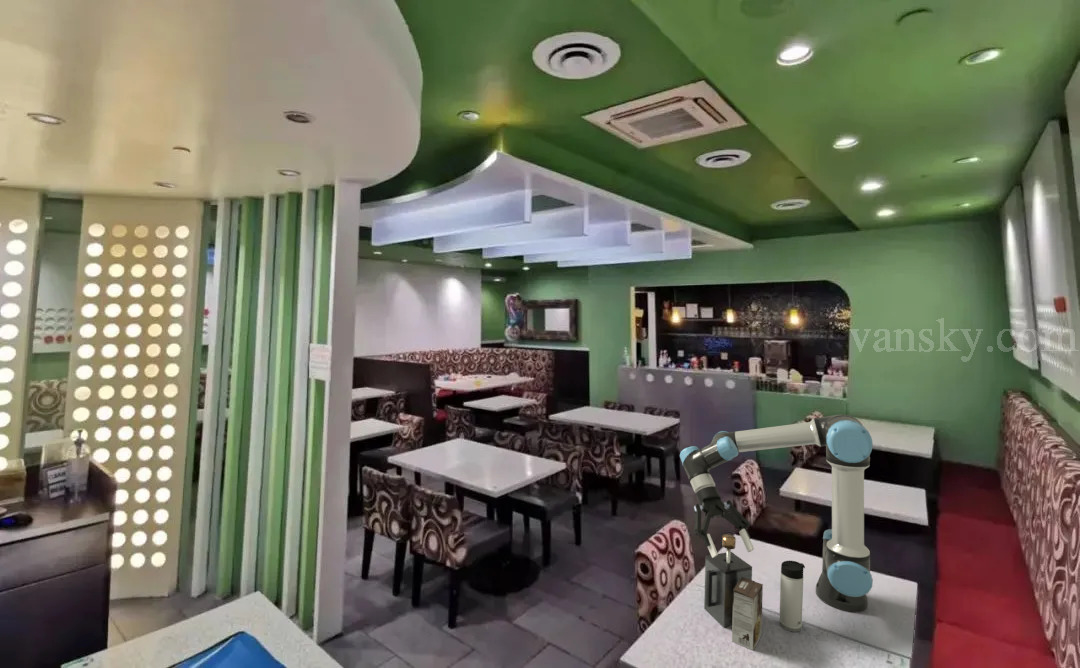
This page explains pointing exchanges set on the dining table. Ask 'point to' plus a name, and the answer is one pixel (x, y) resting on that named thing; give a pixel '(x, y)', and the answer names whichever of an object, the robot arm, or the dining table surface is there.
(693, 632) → the dining table surface
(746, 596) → the coffee box
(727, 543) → the plunger
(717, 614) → the press pot
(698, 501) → the robot arm
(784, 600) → the travel mug
